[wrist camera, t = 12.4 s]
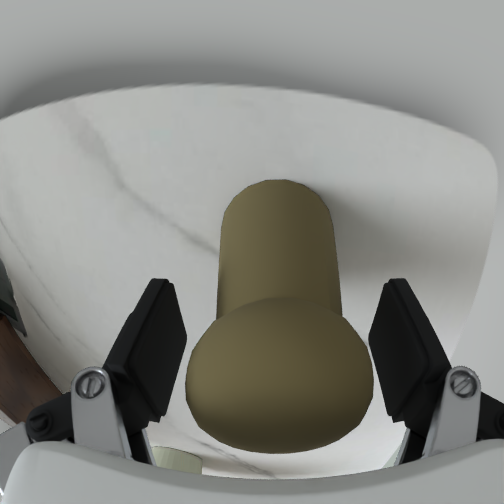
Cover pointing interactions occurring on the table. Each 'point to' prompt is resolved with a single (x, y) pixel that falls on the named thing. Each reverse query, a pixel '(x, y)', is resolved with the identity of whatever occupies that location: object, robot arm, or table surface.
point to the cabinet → (20, 378)
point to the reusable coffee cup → (177, 460)
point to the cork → (278, 330)
